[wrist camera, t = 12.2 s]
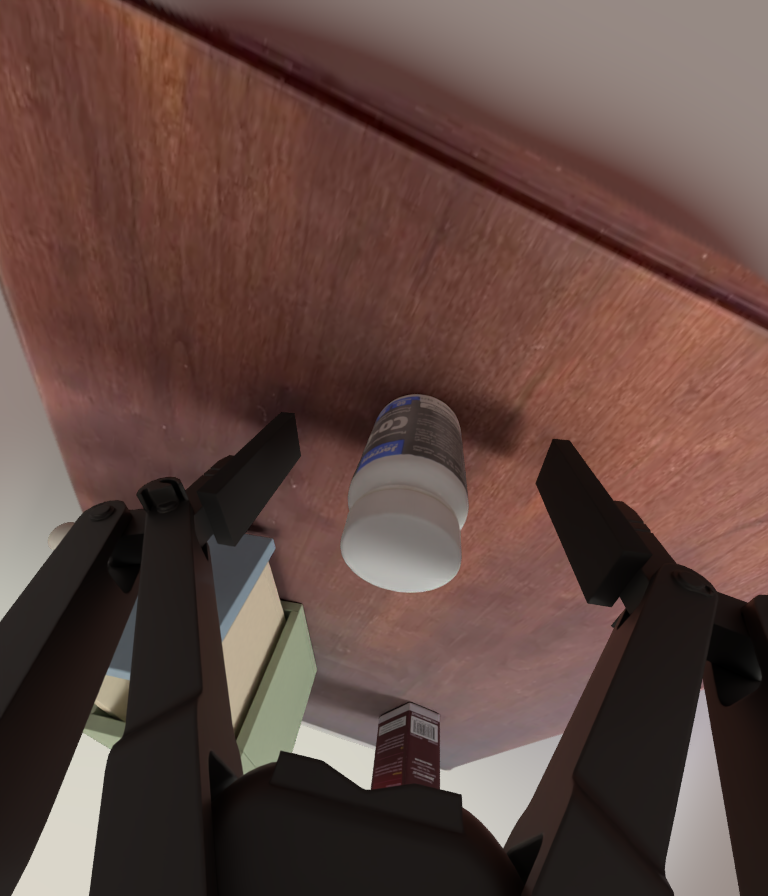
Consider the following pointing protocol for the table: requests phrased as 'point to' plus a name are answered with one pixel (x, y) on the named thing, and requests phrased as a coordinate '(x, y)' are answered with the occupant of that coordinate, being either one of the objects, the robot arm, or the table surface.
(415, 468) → the pill bottle
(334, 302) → the table surface
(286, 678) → the green box-shaped shell
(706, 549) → the table surface
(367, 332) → the table surface
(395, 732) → the supplement box
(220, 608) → the drawer
